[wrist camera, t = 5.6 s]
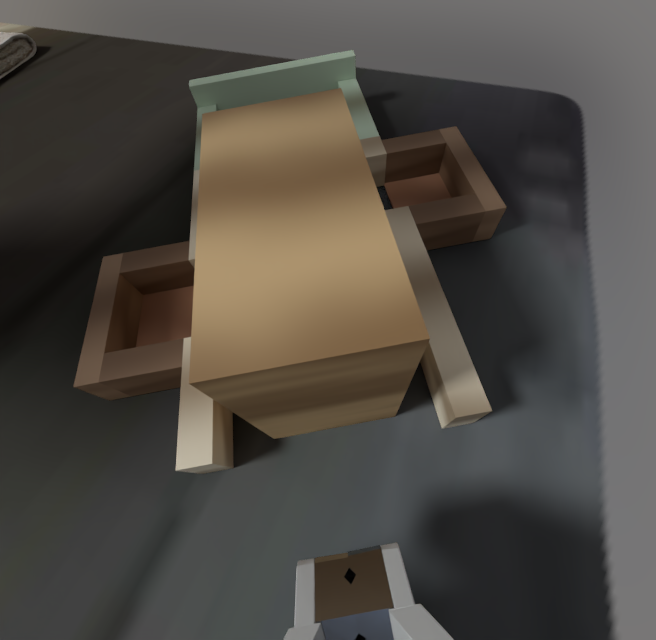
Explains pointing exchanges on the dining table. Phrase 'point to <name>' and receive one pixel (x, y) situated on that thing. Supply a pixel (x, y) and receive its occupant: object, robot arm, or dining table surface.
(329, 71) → the end wall
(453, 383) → the lane
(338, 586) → the robot arm
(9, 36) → the washcloth
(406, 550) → the dining table surface
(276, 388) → the block
